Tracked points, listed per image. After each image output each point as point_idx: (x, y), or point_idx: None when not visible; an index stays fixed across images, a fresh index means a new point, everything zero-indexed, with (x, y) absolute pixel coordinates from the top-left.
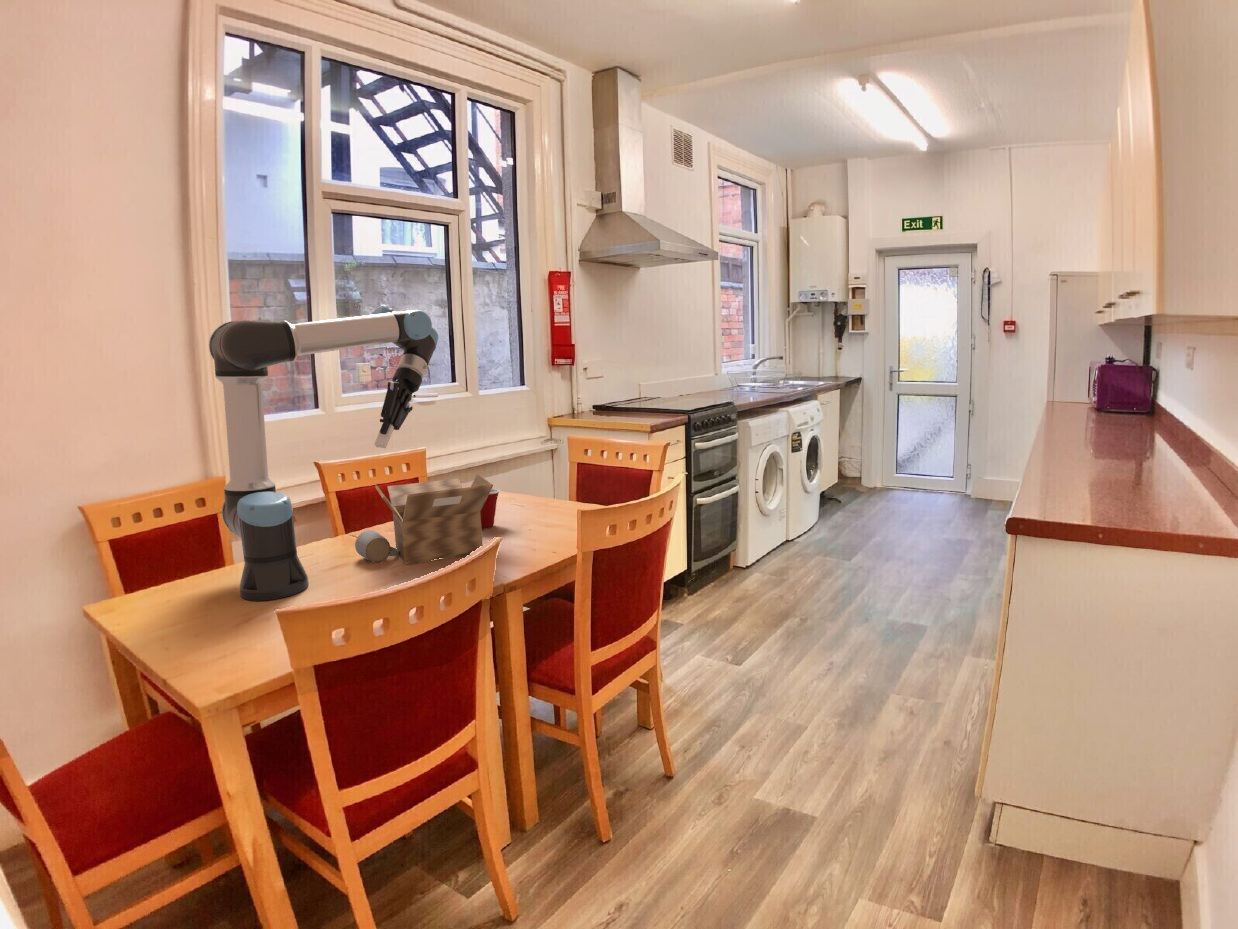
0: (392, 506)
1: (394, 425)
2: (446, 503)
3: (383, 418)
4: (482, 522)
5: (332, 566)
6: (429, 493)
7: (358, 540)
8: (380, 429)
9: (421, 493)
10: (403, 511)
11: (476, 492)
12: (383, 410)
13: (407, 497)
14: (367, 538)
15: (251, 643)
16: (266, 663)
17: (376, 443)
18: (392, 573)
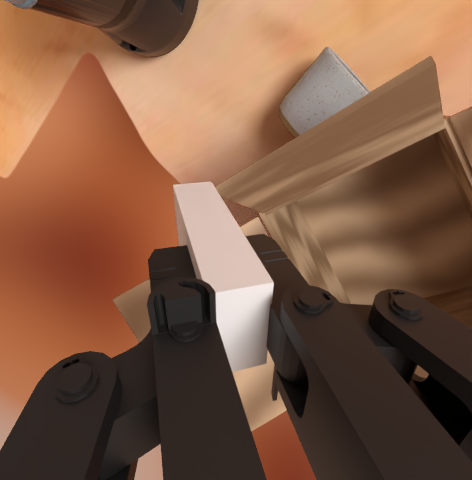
0: (353, 157)
1: (272, 382)
2: None
3: (116, 358)
4: None
5: (284, 19)
6: (139, 339)
7: (315, 62)
8: (149, 263)
9: (129, 325)
10: (453, 152)
11: None
12: (10, 475)
13: (124, 292)
14: (296, 99)
15: (26, 107)
16: (10, 153)
17: (174, 200)
18: None
